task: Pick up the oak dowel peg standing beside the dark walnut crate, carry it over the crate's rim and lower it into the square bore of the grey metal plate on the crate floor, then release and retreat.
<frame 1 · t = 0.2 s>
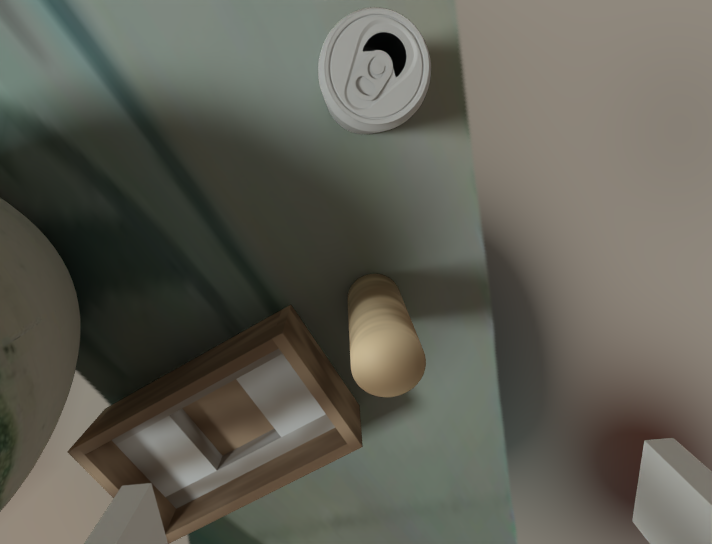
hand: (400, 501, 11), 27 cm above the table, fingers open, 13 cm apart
crate: (233, 407, 42), on the table
peg: (373, 298, 39), on the table
beverage can: (363, 93, 33), on the table
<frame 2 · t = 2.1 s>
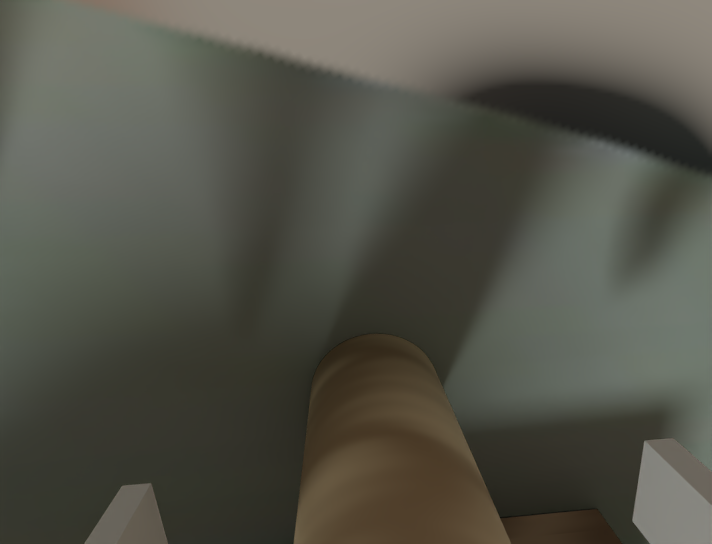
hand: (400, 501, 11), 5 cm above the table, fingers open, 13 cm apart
peg: (375, 391, 16), on the table
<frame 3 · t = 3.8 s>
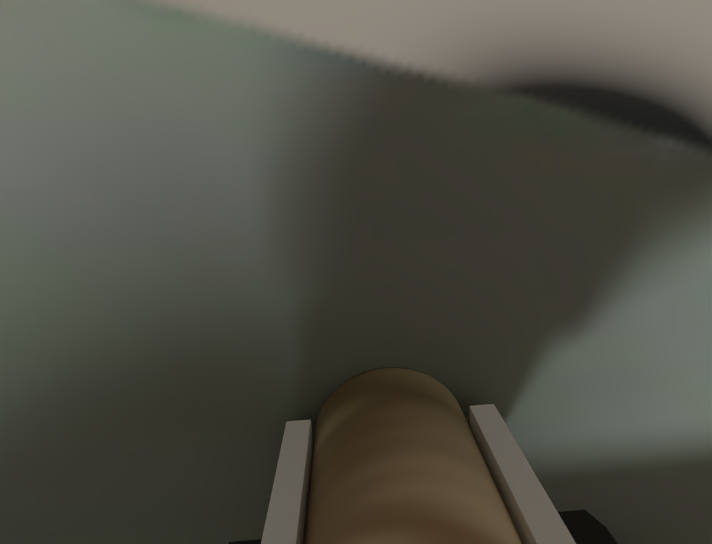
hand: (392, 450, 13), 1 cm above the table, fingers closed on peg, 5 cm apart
peg: (390, 434, 14), on the table, touching gripper
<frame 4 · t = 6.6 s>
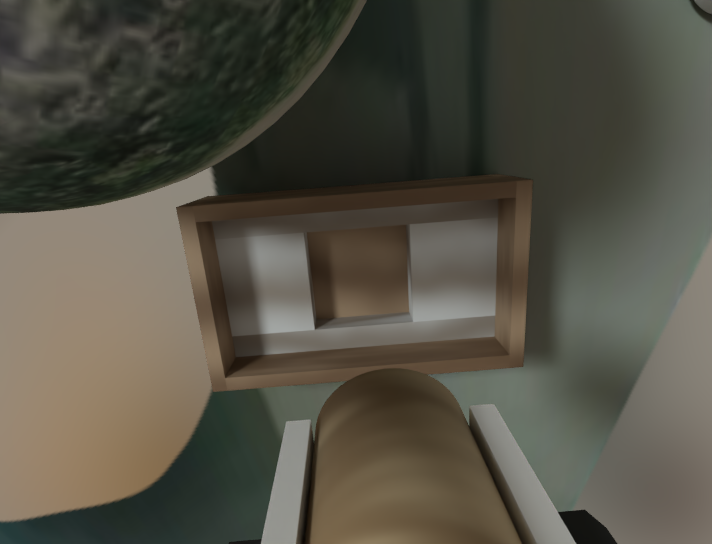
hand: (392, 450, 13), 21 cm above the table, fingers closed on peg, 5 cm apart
crate: (359, 267, 33), on the table
peg: (390, 434, 14), point 20 cm above the table, touching gripper
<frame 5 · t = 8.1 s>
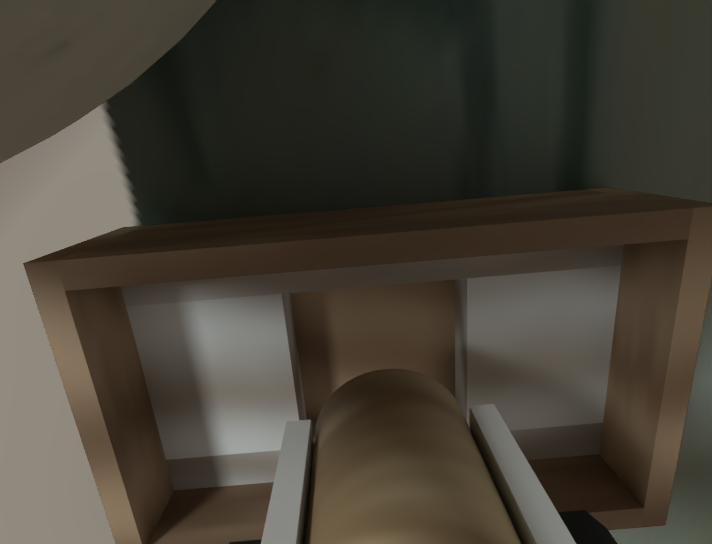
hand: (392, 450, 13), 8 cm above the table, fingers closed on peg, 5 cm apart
crate: (374, 337, 20), on the table
peg: (390, 435, 14), point 7 cm above the table, touching gripper
when the fingers open (4 cm above the table, at t = 9.4 s): peg drops 2 cm, resting on crate.
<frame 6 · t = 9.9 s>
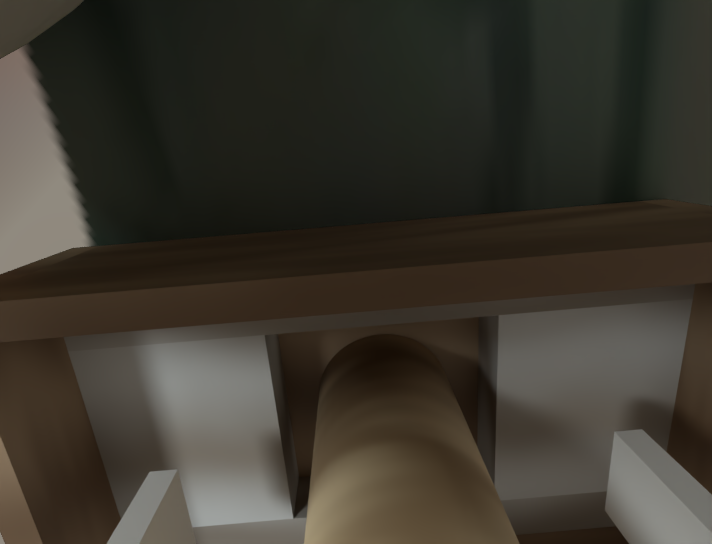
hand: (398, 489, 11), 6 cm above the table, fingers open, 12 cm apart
crate: (380, 377, 17), on the table
peg: (383, 392, 16), point 1 cm above the table, touching crate
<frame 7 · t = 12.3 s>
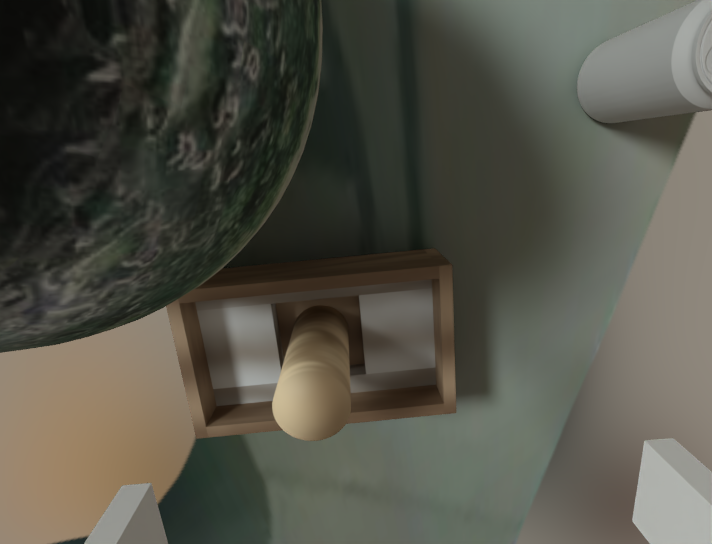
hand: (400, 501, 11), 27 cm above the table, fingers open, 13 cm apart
crate: (321, 326, 38), on the table
peg: (321, 330, 38), point 1 cm above the table, touching crate
vase: (154, 84, 33), on the table
beverage can: (608, 83, 34), on the table
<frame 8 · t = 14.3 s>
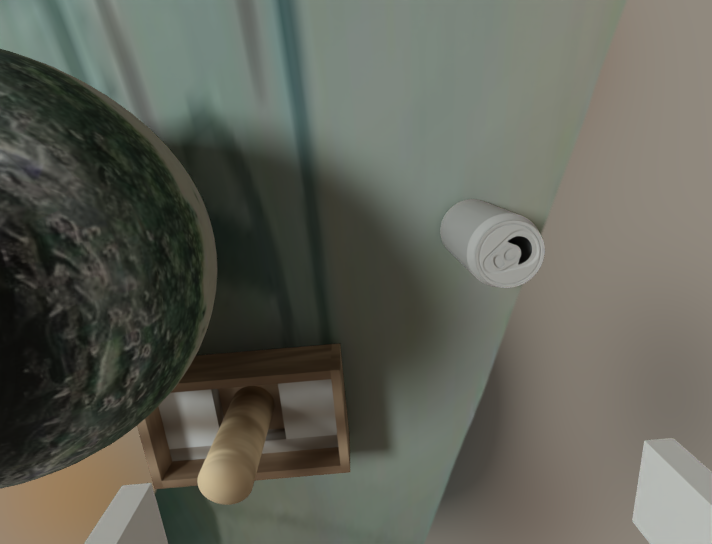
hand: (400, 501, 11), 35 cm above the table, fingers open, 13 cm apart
crate: (254, 399, 50), on the table
peg: (253, 404, 49), point 1 cm above the table, touching crate
vase: (121, 228, 43), on the table
beverage can: (467, 227, 45), on the table
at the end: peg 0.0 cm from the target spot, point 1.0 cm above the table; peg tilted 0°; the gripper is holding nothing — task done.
